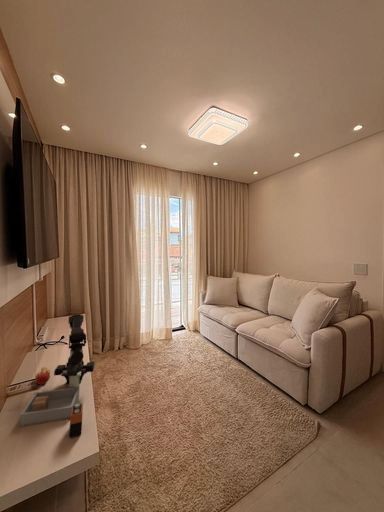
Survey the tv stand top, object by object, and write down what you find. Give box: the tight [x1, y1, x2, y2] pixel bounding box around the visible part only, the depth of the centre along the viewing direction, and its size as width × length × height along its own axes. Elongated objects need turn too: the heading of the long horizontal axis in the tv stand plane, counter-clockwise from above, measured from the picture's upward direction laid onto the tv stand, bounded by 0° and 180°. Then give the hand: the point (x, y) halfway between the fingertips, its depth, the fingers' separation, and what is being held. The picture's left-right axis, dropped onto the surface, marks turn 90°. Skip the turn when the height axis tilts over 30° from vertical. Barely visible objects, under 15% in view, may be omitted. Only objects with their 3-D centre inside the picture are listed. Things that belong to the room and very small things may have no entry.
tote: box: [19, 386, 81, 427], centre depth 99 cm, size 16×20×5 cm
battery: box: [68, 402, 84, 439], centre depth 88 cm, size 4×7×10 cm, turn 25°
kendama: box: [34, 366, 51, 386], centre depth 125 cm, size 8×6×18 cm
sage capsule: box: [68, 372, 81, 388], centre depth 113 cm, size 5×5×7 cm
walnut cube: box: [32, 396, 49, 412], centre depth 98 cm, size 5×5×5 cm
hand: (74, 384), depth 113 cm, fingers closed on sage capsule, 5 cm apart
